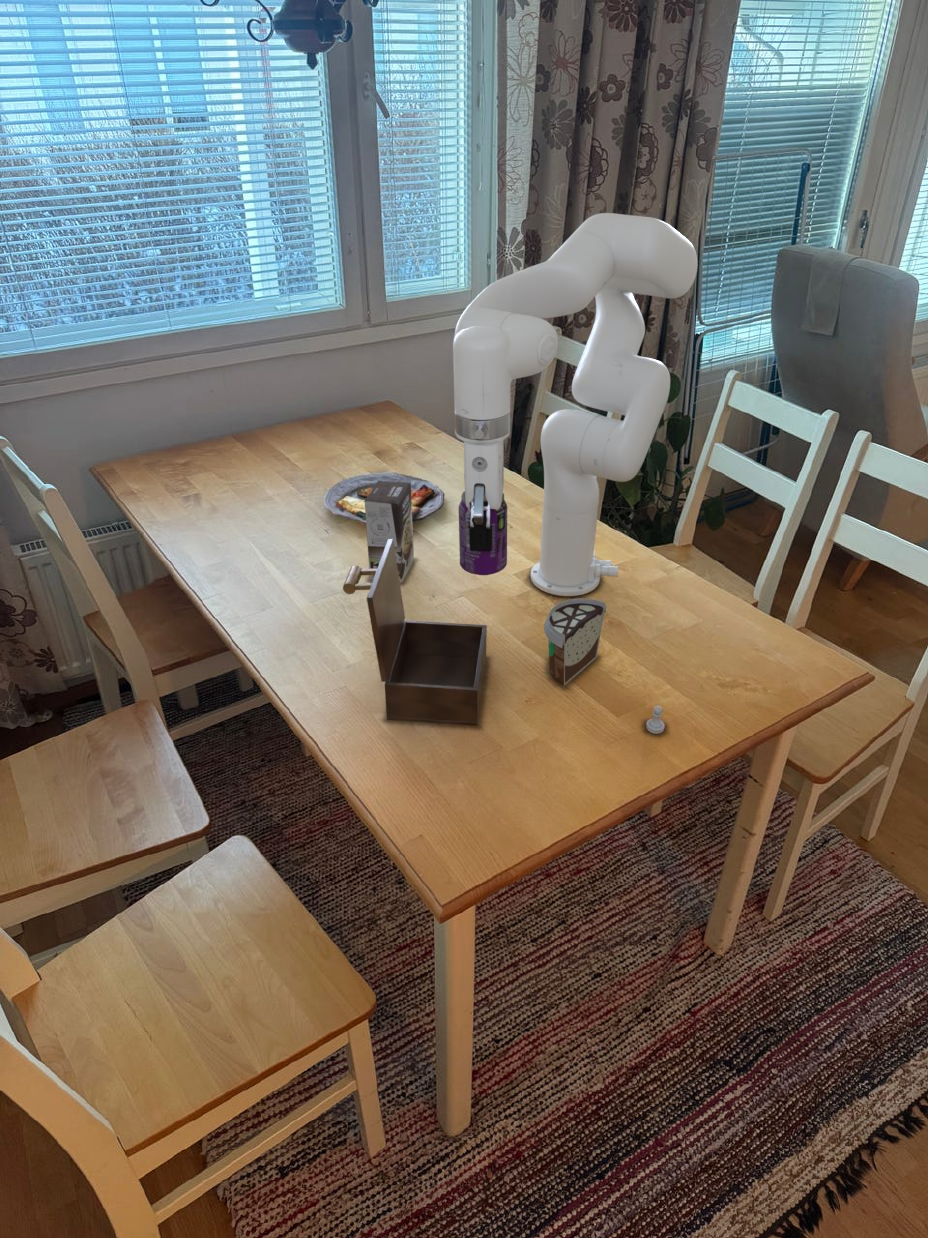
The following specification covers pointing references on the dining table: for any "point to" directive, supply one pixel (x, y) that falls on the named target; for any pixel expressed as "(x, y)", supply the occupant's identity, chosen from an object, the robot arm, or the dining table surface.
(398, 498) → the coffee box
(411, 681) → the chest
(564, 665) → the food container
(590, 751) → the dining table surface
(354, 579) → the lid
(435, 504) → the food plate
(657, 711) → the pawn
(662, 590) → the dining table surface
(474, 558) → the beverage can
